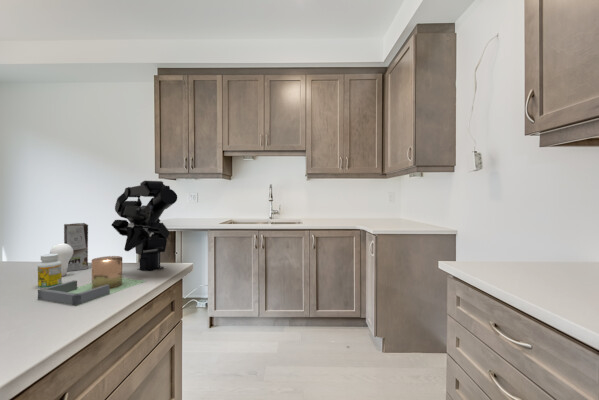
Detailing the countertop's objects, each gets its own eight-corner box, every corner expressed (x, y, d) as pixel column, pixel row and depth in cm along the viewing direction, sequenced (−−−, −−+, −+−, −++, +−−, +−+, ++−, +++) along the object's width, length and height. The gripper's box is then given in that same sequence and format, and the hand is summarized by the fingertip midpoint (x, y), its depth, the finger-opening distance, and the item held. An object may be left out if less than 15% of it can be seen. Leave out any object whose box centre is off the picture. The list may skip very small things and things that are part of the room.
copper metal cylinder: (109, 280, 94) (109, 255, 94) (128, 283, 92) (128, 257, 91) (85, 288, 87) (85, 260, 86) (105, 291, 84) (105, 262, 84)
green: (112, 278, 98) (112, 276, 98) (146, 282, 95) (146, 280, 95) (37, 301, 77) (37, 299, 77) (76, 308, 73) (76, 305, 73)
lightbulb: (78, 274, 102) (77, 242, 102) (62, 279, 96) (62, 245, 96) (61, 273, 103) (61, 241, 103) (44, 278, 97) (44, 244, 97)
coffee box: (88, 268, 110) (88, 224, 110) (66, 271, 106) (66, 225, 105) (84, 264, 117) (84, 222, 116) (63, 266, 113) (63, 223, 112)
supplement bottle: (64, 286, 90) (64, 254, 90) (42, 291, 85) (42, 257, 85) (56, 283, 92) (56, 252, 92) (34, 288, 88) (34, 255, 88)
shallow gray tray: (73, 288, 86) (73, 280, 86) (109, 293, 82) (109, 284, 82) (37, 299, 77) (37, 290, 77) (75, 305, 74) (75, 295, 73)
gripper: (116, 195, 101) (85, 232, 91) (164, 197, 97) (136, 237, 86) (134, 217, 109) (107, 253, 99) (179, 220, 105) (156, 258, 94)
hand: (126, 250), depth 95 cm, fingers closed
